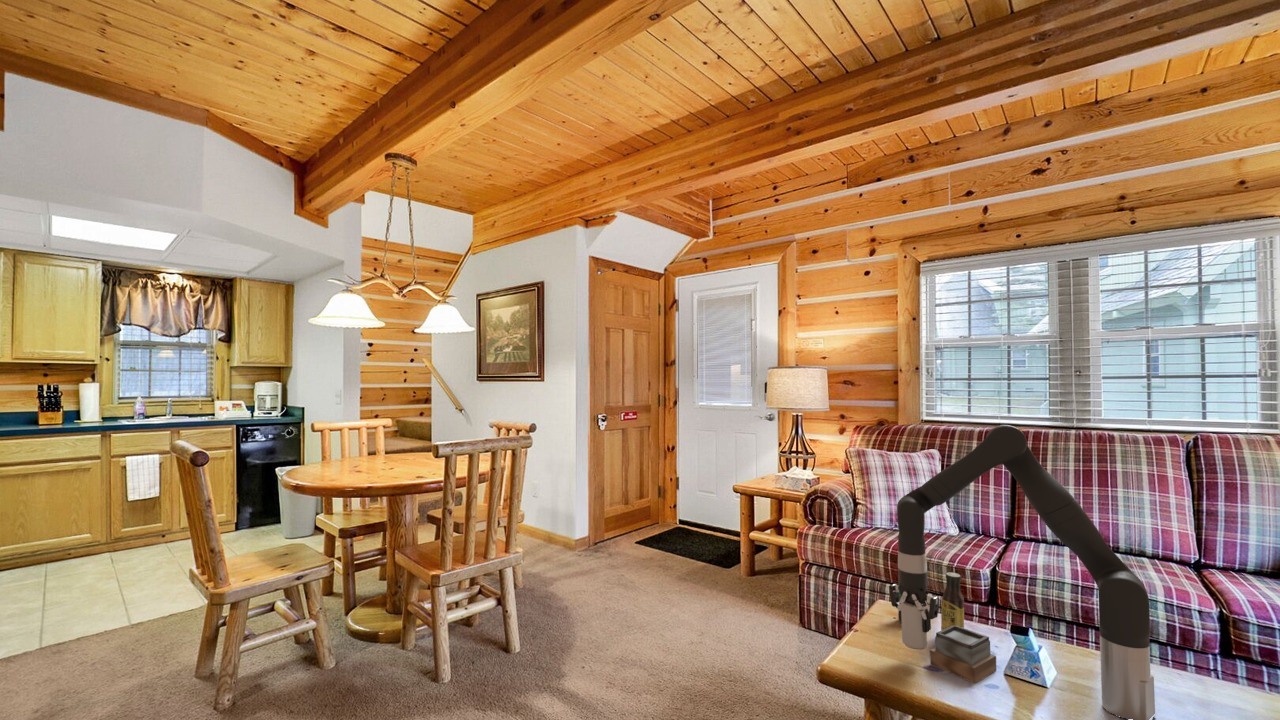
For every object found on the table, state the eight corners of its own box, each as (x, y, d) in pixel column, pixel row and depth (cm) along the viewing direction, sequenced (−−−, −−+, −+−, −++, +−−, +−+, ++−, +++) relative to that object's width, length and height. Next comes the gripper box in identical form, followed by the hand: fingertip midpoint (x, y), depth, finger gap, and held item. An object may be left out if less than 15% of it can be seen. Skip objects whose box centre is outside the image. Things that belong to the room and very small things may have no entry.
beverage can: (930, 651, 157) (928, 608, 157) (905, 650, 158) (904, 606, 158) (923, 641, 163) (922, 599, 163) (899, 639, 164) (898, 598, 165)
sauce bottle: (936, 635, 178) (935, 571, 179) (952, 632, 180) (950, 569, 181) (953, 644, 172) (952, 578, 173) (969, 641, 174) (968, 576, 174)
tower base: (996, 670, 156) (995, 637, 156) (974, 683, 150) (973, 649, 150) (952, 653, 166) (951, 622, 166) (930, 664, 160) (929, 632, 160)
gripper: (944, 572, 157) (946, 633, 157) (896, 559, 169) (898, 616, 169) (929, 577, 153) (932, 640, 152) (881, 564, 165) (883, 622, 164)
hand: (914, 627), depth 160 cm, fingers closed on beverage can, 6 cm apart
